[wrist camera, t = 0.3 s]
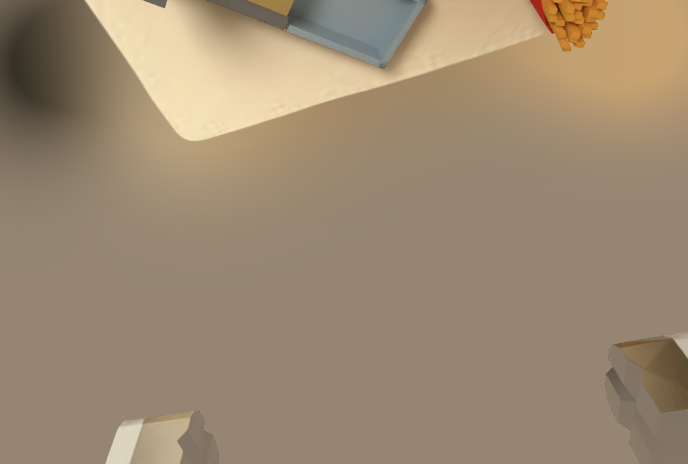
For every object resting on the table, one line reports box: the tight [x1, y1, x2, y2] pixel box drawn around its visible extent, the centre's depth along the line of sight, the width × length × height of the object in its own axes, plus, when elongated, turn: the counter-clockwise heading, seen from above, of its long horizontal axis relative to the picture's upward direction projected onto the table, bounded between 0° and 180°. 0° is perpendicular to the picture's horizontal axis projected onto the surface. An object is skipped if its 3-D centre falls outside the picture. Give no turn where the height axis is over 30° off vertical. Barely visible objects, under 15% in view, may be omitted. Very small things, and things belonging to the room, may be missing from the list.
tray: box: [286, 0, 427, 69], centre depth 57 cm, size 9×12×3 cm
